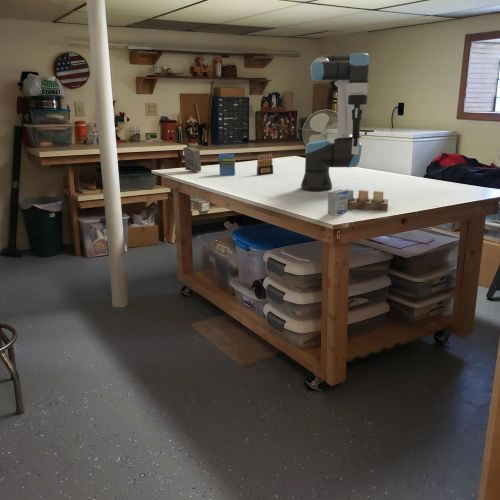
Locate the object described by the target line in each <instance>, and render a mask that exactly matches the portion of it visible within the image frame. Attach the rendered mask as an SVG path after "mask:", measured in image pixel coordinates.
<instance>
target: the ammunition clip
mask: <svg viewBox="0 0 500 500" xmlns="http://www.w3.org/2000/svg"><path fill="white" fill-rule="evenodd" d="M256 164H257V166H256V176H258V177H259V176H267V175H273V174H274V165H273V154H272V153H268V154H267V153H263V154H262V153H261V154H258V155H257V162H256Z"/></svg>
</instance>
